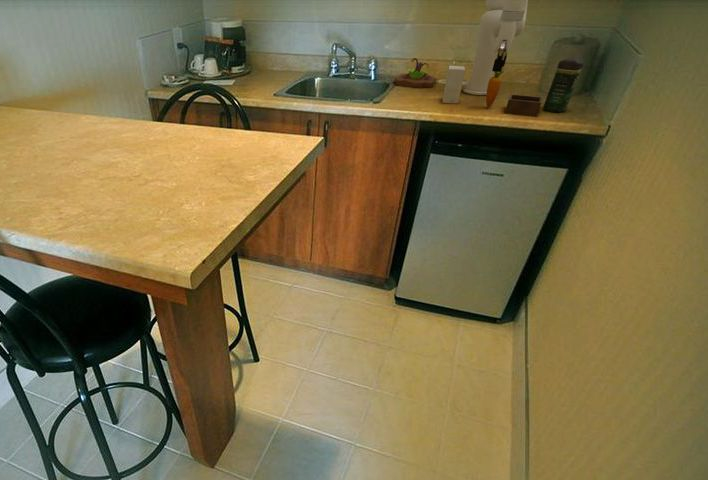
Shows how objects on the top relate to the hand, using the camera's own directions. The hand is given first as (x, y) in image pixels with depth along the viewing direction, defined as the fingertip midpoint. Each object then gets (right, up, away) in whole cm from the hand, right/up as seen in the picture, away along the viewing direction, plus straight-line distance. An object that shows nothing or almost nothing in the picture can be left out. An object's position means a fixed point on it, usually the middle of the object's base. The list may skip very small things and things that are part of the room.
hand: (498, 68), depth 158 cm
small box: (-12, -5, +17) cm, 22 cm away
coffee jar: (+25, -14, +5) cm, 29 cm away
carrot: (0, -12, +8) cm, 14 cm away
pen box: (+11, -15, +3) cm, 19 cm away
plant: (-20, +16, +45) cm, 52 cm away
